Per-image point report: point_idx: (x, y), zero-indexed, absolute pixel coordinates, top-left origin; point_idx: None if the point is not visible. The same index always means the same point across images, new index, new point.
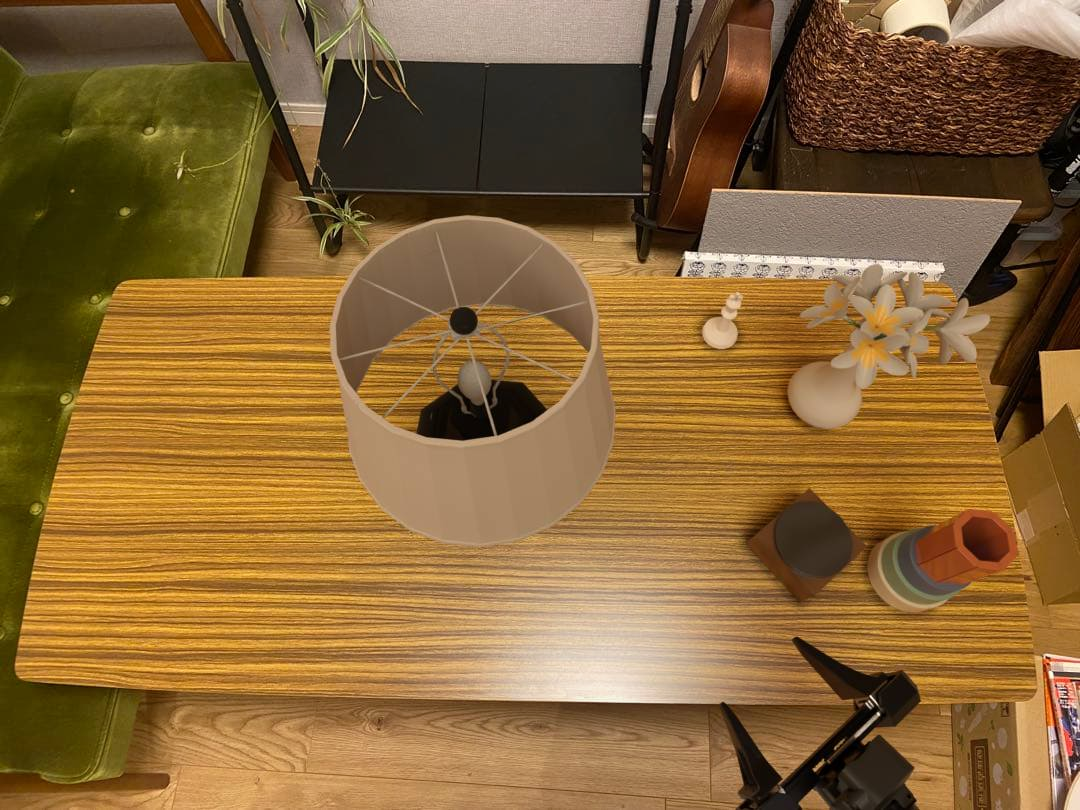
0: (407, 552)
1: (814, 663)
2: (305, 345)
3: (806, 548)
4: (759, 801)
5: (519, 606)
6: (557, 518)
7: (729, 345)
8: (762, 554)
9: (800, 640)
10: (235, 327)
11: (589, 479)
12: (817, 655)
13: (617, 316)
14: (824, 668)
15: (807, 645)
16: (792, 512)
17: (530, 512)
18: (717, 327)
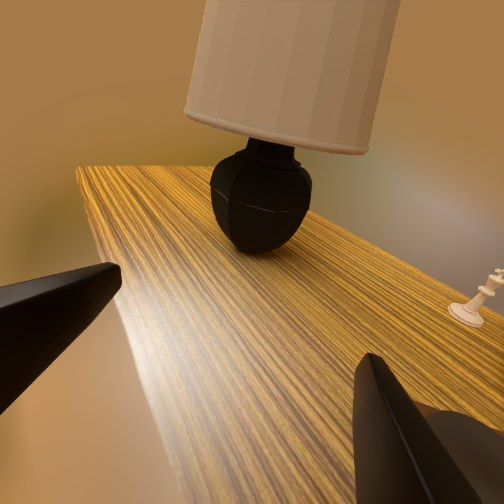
0: (185, 229)
1: (375, 471)
2: None
3: (472, 477)
4: None
5: (182, 277)
6: (247, 126)
7: (469, 324)
8: None
9: (381, 364)
10: None
11: (293, 121)
12: (411, 426)
13: (391, 266)
14: (409, 498)
15: (394, 385)
16: (472, 424)
17: (236, 80)
18: (465, 304)
